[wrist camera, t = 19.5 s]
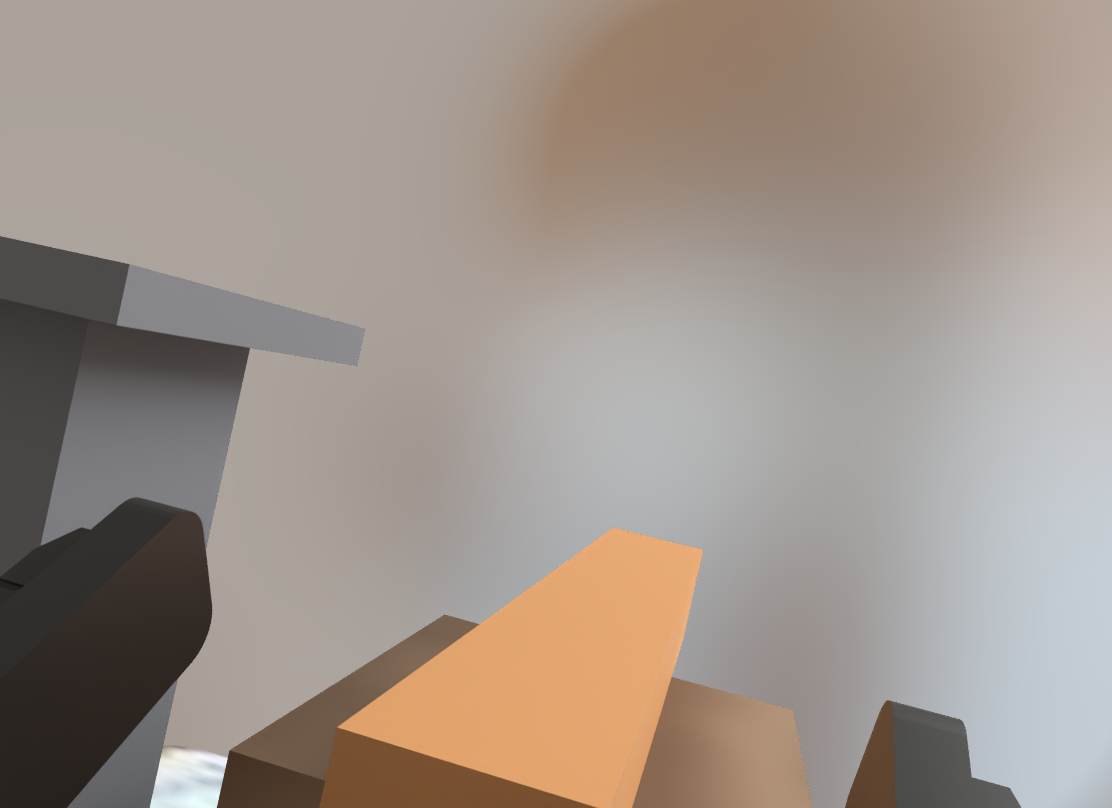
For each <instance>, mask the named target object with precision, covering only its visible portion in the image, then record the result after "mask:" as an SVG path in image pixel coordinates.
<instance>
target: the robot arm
mask: <svg viewBox="0 0 1112 808" xmlns="http://www.w3.org/2000/svg"><path fill="white" fill-rule="evenodd" d="M211 618H212V601H211V594H210V583H209V575H208V566H207V557H206V548H205V539H204V531H203V525H202V521H201V519H200V517H199V516H198V515H197V514H196V513H195V512H192V511H188V510H185V509H181V508H177V507H173V506H170V505H166V504H162V503H158V502H155V501H151V500H147V499H143V498H140V497H134V498H130V499H128V500H126V501H124V502H123V503H122V504H120V505H119V506H118V507H117V508H116V509H114V510H113V511H112V512H111V513H110V514H108V515H107V516H106V517H105V518H104V519H103V520H101V521H100V522H99V523H98V524H97V525H95V526H94V527H93V528H92V529H91V530H90V529H86V528H83V527H81V528H78V529H76V530H74V531H72V532H70V533H68V534H65V535H63V536H61V537H59V538H57V539H55V540H52V541H50V542H48V543H46V544H44V545H41V546H39V547H37V548H35V549H34V550H32V551H31V552H30V553H29V554H28V555H26V556H25V557H24V558H23V559H21V560H20V561H19V562H18V563H16V564H15V565H14V566H13V567H12V568H10V569H9V570H8V571H7V572H5V573H4V574H3V575H2V576H0V808H67V807H68V806H69V805H70V804H71V803H72V801H73V800H74V799H75V798H76V797H77V796H78V794H79V793H80V792H81V791H82V790H83V789H84V787H85V786H86V785H87V784H88V783H89V782H90V780H91V779H92V778H93V777H94V776H95V775H96V773H97V772H98V771H99V770H100V769H101V768H102V766H103V765H104V764H105V763H106V762H107V761H108V759H109V758H110V757H111V756H112V755H113V754H114V752H115V751H116V750H117V749H118V748H119V747H120V745H121V744H122V743H123V742H124V741H125V740H126V738H127V737H128V736H129V735H130V734H131V733H132V731H133V730H134V729H135V728H136V727H137V726H138V724H139V723H140V722H141V721H142V720H143V719H144V717H145V716H146V715H147V714H148V713H149V712H150V710H151V709H152V708H153V707H154V706H155V705H156V703H157V702H158V701H159V700H160V699H161V698H162V696H163V695H164V694H165V693H166V692H167V691H168V689H169V688H170V687H171V686H172V685H173V684H174V682H175V681H176V680H177V679H178V678H179V676H180V675H181V674H182V673H183V672H184V671H185V670H186V668H187V667H188V666H189V665H190V664H191V663H192V661H193V660H194V659H195V657H196V656H197V654H198V653H199V651H200V650H201V648H202V646H203V644H204V642H205V639H206V637H207V634H208V631H209V627H210V624H211ZM845 808H1021V806H1020V805H1019V803H1018V801H1017V800H1016V798H1015V797H1014V795H1013V793H1012V791H1011V789H1010V788H1008V787H1004V786H1000V785H997V784H994V783H990V782H986V781H983V780H979V779H976V778H972V777H971V768H970V759H969V751H968V742H967V735H966V729H965V726H964V723H963V722H962V721H961V720H960V719H956V718H952V717H949V716H945V715H941V714H937V713H934V712H930V711H926V710H923V709H919V708H915V707H911V706H907V705H904V704H900V703H896V702H892V701H886V702H885V703H884V705H883V706H882V708H881V711H880V713H879V716H878V718H877V721H876V723H875V726H874V730H873V732H872V735H871V737H870V739H869V742H868V745H867V747H866V750H865V753H864V755H863V758H862V761H861V763H860V766H859V769H858V771H857V774H856V777H855V779H854V782H853V785H852V787H851V790H850V793H849V796H848V799H847V803H846V807H845Z"/></svg>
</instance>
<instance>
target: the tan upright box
mask: <svg viewBox="0 0 1112 808" xmlns="http://www.w3.org/2000/svg"><path fill="white" fill-rule="evenodd" d="M478 625H479V624H476V623H473V622H469V621H465V620H462V619H458V618H455V617H451V616H447V615H443V616H442V617H440V618H439V619H437V620H436V621H434V622H432V623H431V624H429V625H428V626H426V627H425V628H423V629H421V630H420V631H418V632H416V633H415V634H413V635H412V636H410V637H409V638H407V639H406V640H404V641H402V642H401V643H399V644H397V645H396V646H394V647H393V648H391V649H390V650H388V651H387V652H385V653H383V654H382V655H380V656H379V657H377V658H376V659H374V660H372V661H371V662H369V663H367V664H366V665H364V666H363V667H361V668H359V669H358V670H356V671H355V672H353V673H351V674H350V675H348V676H347V677H345V678H344V679H342V680H340V681H339V682H337V683H336V684H334V685H332V686H331V687H329V688H328V689H326V690H325V691H323V692H322V693H320V694H318V695H317V696H315V697H314V698H312V699H310V700H309V701H307V702H306V703H304V704H303V705H301V706H299V707H298V708H296V709H294V710H293V711H291V712H290V713H288V714H287V715H285V716H283V717H282V718H280V719H279V720H277V721H275V722H274V723H272V724H271V725H269V726H267V727H266V728H264V729H263V730H261V731H259V732H258V733H256V734H255V735H253V736H252V737H250V738H248V739H247V740H245V741H244V742H242V743H240V744H239V745H237V746H236V747H234V748H233V749H231V750H230V751H229V755H228V760H227V764H226V769H225V773H224V778H223V782H222V787H221V792H220V796H219V801H218V805H217V808H319V807H320V802H321V798H322V793H323V789H324V784H325V780H326V775H327V770H328V766H329V761H330V757H331V752H332V748H333V743H334V739H335V734H336V730H337V727H338V726H340V725H341V724H342V723H344V722H345V721H346V720H348V719H349V718H351V717H352V716H353V715H355V714H356V713H358V712H359V711H360V710H362V709H363V708H364V707H366V706H367V705H369V704H370V703H371V702H373V701H374V700H376V699H377V698H378V697H380V696H381V695H382V694H384V693H385V692H387V691H388V690H389V689H391V688H392V687H394V686H395V685H396V684H398V683H399V682H400V681H402V680H403V679H405V678H406V677H407V676H409V675H410V674H412V673H413V672H414V671H416V670H417V669H418V668H420V667H421V666H423V665H424V664H425V663H427V662H428V661H430V660H431V659H432V658H434V657H435V656H437V655H438V654H439V653H441V652H442V651H443V650H445V649H446V648H448V647H449V646H450V645H452V644H453V643H455V642H456V641H457V640H459V639H460V638H461V637H463V636H464V635H466V634H467V633H468V632H470V631H471V630H473V629H474V628H475V627H477V626H478ZM632 808H812V804H811V800H810V794H809V789H808V784H807V779H806V774H805V769H804V764H803V759H802V754H801V749H800V744H799V739H798V734H797V730H796V724H795V719H794V714H793V711H792V710H789V709H786V708H782V707H778V706H775V705H771V704H768V703H764V702H760V701H757V700H753V699H749V698H746V697H742V696H739V695H735V694H731V693H727V692H724V691H720V690H716V689H713V688H709V687H705V686H702V685H698V684H695V683H691V682H687V681H684V680H680V679H677V678H673V677H671V681H670V684H669V687H668V691H667V694H666V697H665V700H664V704H663V707H662V710H661V714H660V717H659V720H658V724H657V727H656V730H655V733H654V737H653V740H652V743H651V747H650V750H649V753H648V757H647V760H646V763H645V767H644V770H643V773H642V776H641V780H640V783H639V786H638V790H637V793H636V796H635V800H634V803H633V806H632Z"/></svg>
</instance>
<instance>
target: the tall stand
mask: <svg viewBox="0 0 1112 808" xmlns="http://www.w3.org/2000/svg"><path fill="white" fill-rule="evenodd" d="M364 332H365V329H364V328H360V327H357V326H353V325H349V324H346V323H342V322H338V321H334V320H331V319H328V318H324V317H320V316H316V315H313V314H309V313H306V312H302V311H298V310H295V309H291V308H287V307H283V306H280V305H276V304H272V303H269V302H265V301H262V300H258V299H254V298H251V297H247V296H243V295H240V294H236V293H232V292H229V291H225V290H221V289H218V288H214V287H211V286H207V285H203V284H199V283H196V282H192V281H188V280H185V279H181V278H178V277H174V276H170V275H167V274H163V273H159V272H155V271H152V270H148V269H145V268H141V267H137V266H134V265H130V264H126V263H121V262H116V261H111V260H107V259H102V258H98V257H93V256H88V255H84V254H79V253H75V252H70V251H65V250H61V249H56V248H52V247H47V246H42V245H37V244H33V243H28V242H24V241H19V240H15V239H10V238H5V237H1V236H0V576H2V575H3V574H4V573H5V572H7V571H8V570H9V569H10V568H12V567H13V566H14V565H15V564H16V563H18V562H19V561H20V560H21V559H23V558H24V557H25V556H26V555H28V554H29V553H30V552H31V551H32V550H34V549H35V548H37V547H39V546H41V545H44V544H46V543H48V542H50V541H52V540H55V539H57V538H59V537H61V536H63V535H65V534H68V533H70V532H72V531H74V530H76V529H78V528H81V527H83V528H86V529H90V530H91V529H92V528H93V527H94V526H95V525H97V524H98V523H99V522H100V521H101V520H103V519H104V518H105V517H106V516H107V515H108V514H110V513H111V512H112V511H113V510H114V509H116V508H117V507H118V506H119V505H120V504H122V503H123V502H124V501H126V500H128V499H130V498H134V497H140V498H143V499H147V500H151V501H155V502H158V503H162V504H166V505H170V506H173V507H177V508H181V509H185V510H188V511H192V512H195V513H196V514H197V515H198V516H199V517H200V519H201V521H202V525H203V531H204V539H205V548H206V547H207V542H208V538H209V533H210V528H211V524H212V519H213V515H214V510H215V506H216V501H217V496H218V492H219V487H220V483H221V478H222V473H223V469H224V464H225V460H226V455H227V451H228V446H229V441H230V437H231V432H232V428H233V423H234V419H235V414H236V409H237V405H238V400H239V396H240V391H241V387H242V382H243V378H244V372H245V368H246V364H247V359H248V355H249V350H250V348H254V349H260V350H266V351H271V352H277V353H283V354H289V355H295V356H301V357H307V358H313V359H319V360H324V361H330V362H336V363H342V364H348V365H355V366H357V364H358V360H359V355H360V350H361V346H362V341H363V337H364ZM176 684H177V680H176V681H175V682H174V684H173V685H172V686H171V687H170V688H169V689H168V691H167V692H166V693H165V694H164V695H163V696H162V698H161V699H160V700H159V701H158V702H157V703H156V705H155V706H154V707H153V708H152V709H151V710H150V712H149V713H148V714H147V715H146V716H145V717H144V719H143V720H142V721H141V722H140V723H139V724H138V726H137V727H136V728H135V729H134V730H133V731H132V733H131V734H130V735H129V736H128V737H127V738H126V740H125V741H124V742H123V743H122V744H121V745H120V747H119V748H118V749H117V750H116V751H115V752H114V754H113V755H112V756H111V757H110V758H109V759H108V761H107V762H106V763H105V764H104V765H103V766H102V768H101V769H100V770H99V771H98V772H97V773H96V775H95V776H94V777H93V778H92V779H91V780H90V782H89V783H88V784H87V785H86V786H85V787H84V789H83V790H82V791H81V792H80V793H79V794H78V796H77V797H76V798H75V799H74V800H73V801H72V803H71V804H70V805H69V806H68V807H67V808H150V803H151V798H152V794H153V789H154V785H155V780H156V775H157V771H158V766H159V762H160V757H161V753H162V748H163V743H164V739H165V734H166V730H167V725H168V721H169V716H170V711H171V707H172V702H173V698H174V693H175V689H176Z"/></svg>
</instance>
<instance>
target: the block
mask: <svg viewBox="0 0 1112 808" xmlns="http://www.w3.org/2000/svg"><path fill="white" fill-rule="evenodd" d="M702 553H703V550H700V549H697V548H693V547H689V546H685V545H681V544H677V543H673V542H669V541H665V540H661V539H657V538H653V537H649V536H644V535H641V534H637V533H632V532H629V531H625V530H621V529H617V528H613V529H611V530H610V531H608V532H607V533H606V534H604V535H603V536H601V537H600V538H599V539H597V540H596V541H595V542H593V543H592V544H590V545H589V546H588V547H586V548H585V549H583V550H582V551H581V552H579V553H578V554H576V555H575V556H574V557H572V558H571V559H570V560H568V561H567V562H565V563H564V564H563V565H561V566H560V567H558V568H557V569H556V570H554V571H553V572H552V573H550V574H549V575H547V576H546V577H545V578H543V579H542V580H540V581H539V582H538V583H536V584H535V585H534V586H532V587H531V588H529V589H528V590H527V591H525V592H524V593H523V594H521V595H520V596H518V597H517V598H516V599H514V600H513V601H511V602H510V603H509V604H507V605H506V606H504V607H503V608H502V609H500V610H499V611H497V612H496V613H495V614H493V615H492V616H491V617H489V618H488V619H486V620H485V621H484V622H482V623H481V624H479V625H478V626H477V627H475V628H474V629H473V630H471V631H470V632H468V633H467V634H466V635H464V636H463V637H461V638H460V639H459V640H457V641H456V642H455V643H453V644H452V645H450V646H449V647H448V648H446V649H445V650H443V651H442V652H441V653H439V654H438V655H437V656H435V657H434V658H432V659H431V660H430V661H428V662H427V663H425V664H424V665H423V666H421V667H420V668H418V669H417V670H416V671H414V672H413V673H412V674H410V675H409V676H407V677H406V678H405V679H403V680H402V681H400V682H399V683H398V684H396V685H395V686H394V687H392V688H391V689H389V690H388V691H387V692H385V693H384V694H382V695H381V696H380V697H378V698H377V699H376V700H374V701H373V702H371V703H370V704H369V705H367V706H366V707H364V708H363V709H362V710H360V711H359V712H358V713H356V714H355V715H353V716H352V717H351V718H349V719H348V720H346V721H345V722H344V723H342V724H341V725H340V726H338V727H337V730H336V734H335V739H334V743H333V748H332V752H331V757H330V761H329V766H328V770H327V775H326V780H325V784H324V789H323V793H322V798H321V802H320V807H319V808H632V806H633V803H634V800H635V796H636V793H637V790H638V786H639V783H640V780H641V776H642V773H643V770H644V767H645V763H646V760H647V757H648V753H649V750H650V747H651V743H652V740H653V737H654V733H655V730H656V727H657V724H658V720H659V717H660V714H661V710H662V707H663V704H664V700H665V697H666V694H667V691H668V687H669V684H670V681H671V677H672V674H673V671H674V667H675V664H676V661H677V658H678V654H679V651H680V648H681V644H682V641H683V637H684V632H685V628H686V624H687V619H688V615H689V610H690V606H691V601H692V597H693V592H694V588H695V584H696V579H697V575H698V571H699V566H700V562H701V557H702Z"/></svg>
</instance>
